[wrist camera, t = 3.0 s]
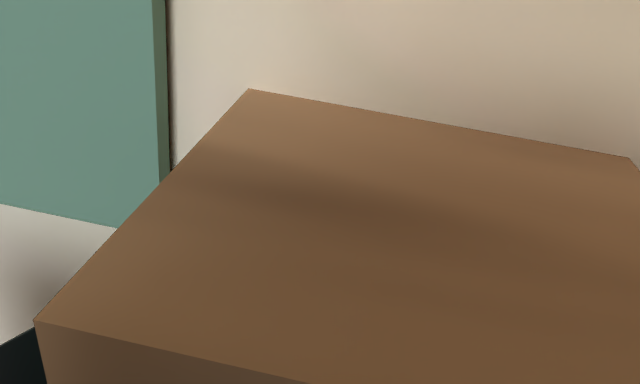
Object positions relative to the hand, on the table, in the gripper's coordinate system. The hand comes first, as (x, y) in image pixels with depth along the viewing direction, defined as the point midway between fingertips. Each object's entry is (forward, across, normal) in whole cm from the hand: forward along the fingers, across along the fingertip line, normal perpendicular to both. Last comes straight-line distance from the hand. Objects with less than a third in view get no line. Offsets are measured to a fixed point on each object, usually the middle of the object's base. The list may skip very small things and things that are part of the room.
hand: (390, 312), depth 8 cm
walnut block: (+1, 0, 0) cm, 1 cm away
